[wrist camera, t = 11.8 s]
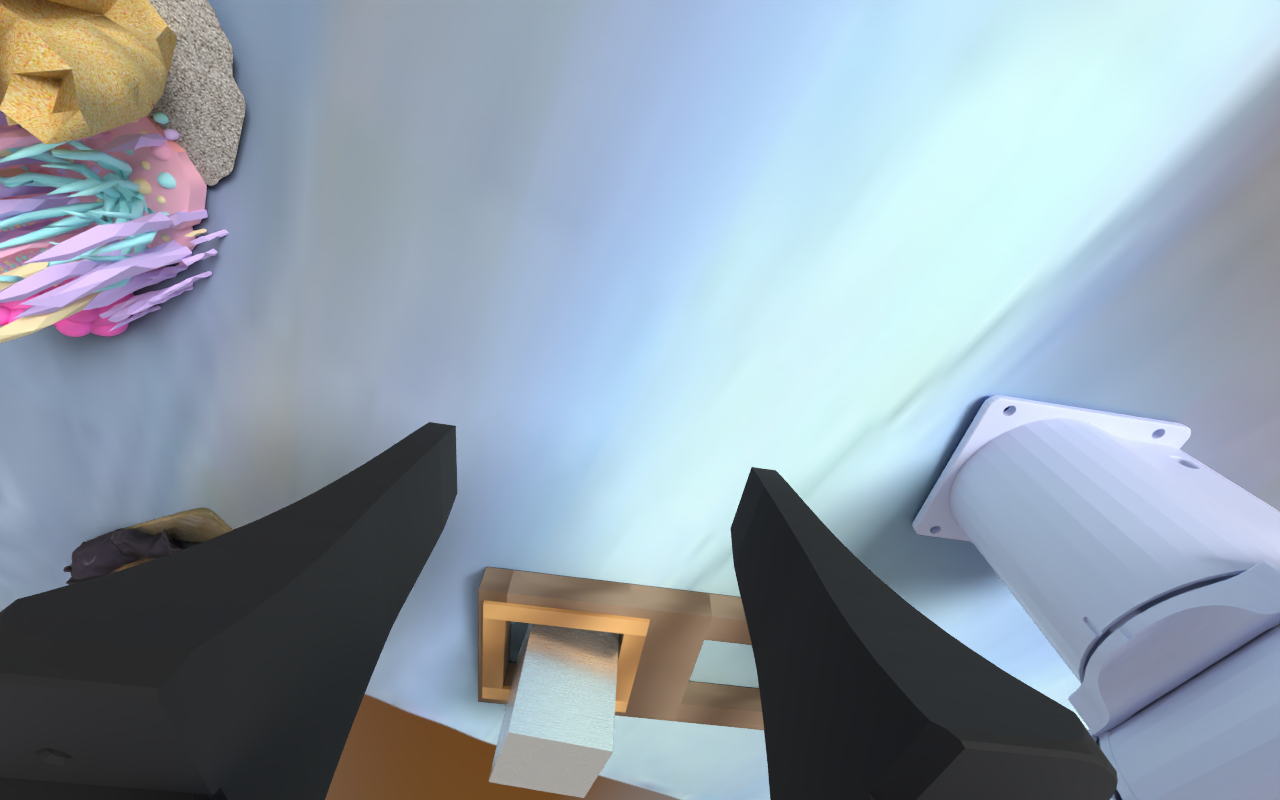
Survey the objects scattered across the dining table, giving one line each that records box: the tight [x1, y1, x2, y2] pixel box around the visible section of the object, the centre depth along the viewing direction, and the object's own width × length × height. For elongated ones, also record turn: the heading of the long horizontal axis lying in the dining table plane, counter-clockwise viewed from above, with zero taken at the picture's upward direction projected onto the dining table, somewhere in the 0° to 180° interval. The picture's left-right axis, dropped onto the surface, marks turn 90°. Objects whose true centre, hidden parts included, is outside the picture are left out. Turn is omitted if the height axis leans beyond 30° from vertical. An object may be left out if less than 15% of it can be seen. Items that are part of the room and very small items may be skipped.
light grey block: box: [489, 623, 619, 798], centre depth 27 cm, size 5×5×7 cm
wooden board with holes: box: [478, 567, 764, 730], centre depth 30 cm, size 20×10×2 cm, turn 81°
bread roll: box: [64, 508, 232, 585], centre depth 27 cm, size 11×8×4 cm
